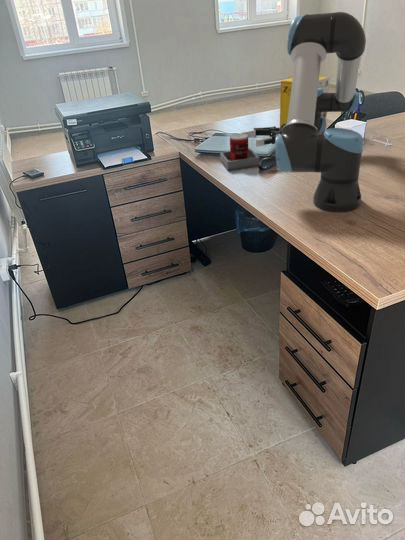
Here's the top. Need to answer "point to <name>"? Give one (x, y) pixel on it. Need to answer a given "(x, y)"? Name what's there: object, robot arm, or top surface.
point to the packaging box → (286, 94)
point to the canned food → (239, 146)
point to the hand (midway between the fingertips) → (248, 139)
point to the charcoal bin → (239, 161)
